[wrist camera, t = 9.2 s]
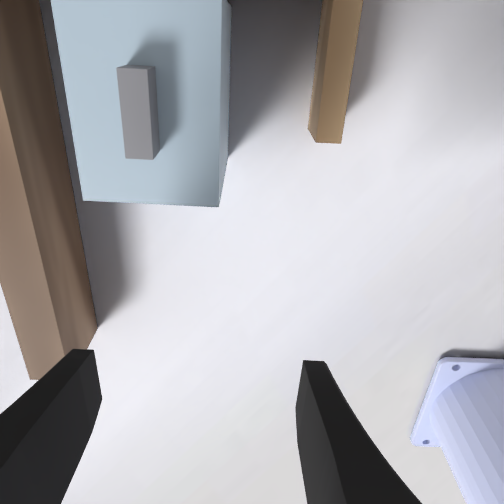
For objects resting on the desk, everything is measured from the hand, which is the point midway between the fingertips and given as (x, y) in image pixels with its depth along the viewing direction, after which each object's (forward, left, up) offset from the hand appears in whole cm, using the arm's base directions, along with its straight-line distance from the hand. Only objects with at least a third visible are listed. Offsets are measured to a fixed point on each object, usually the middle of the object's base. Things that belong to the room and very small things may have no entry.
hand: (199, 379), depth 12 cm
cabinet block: (+2, -7, -10) cm, 12 cm away
